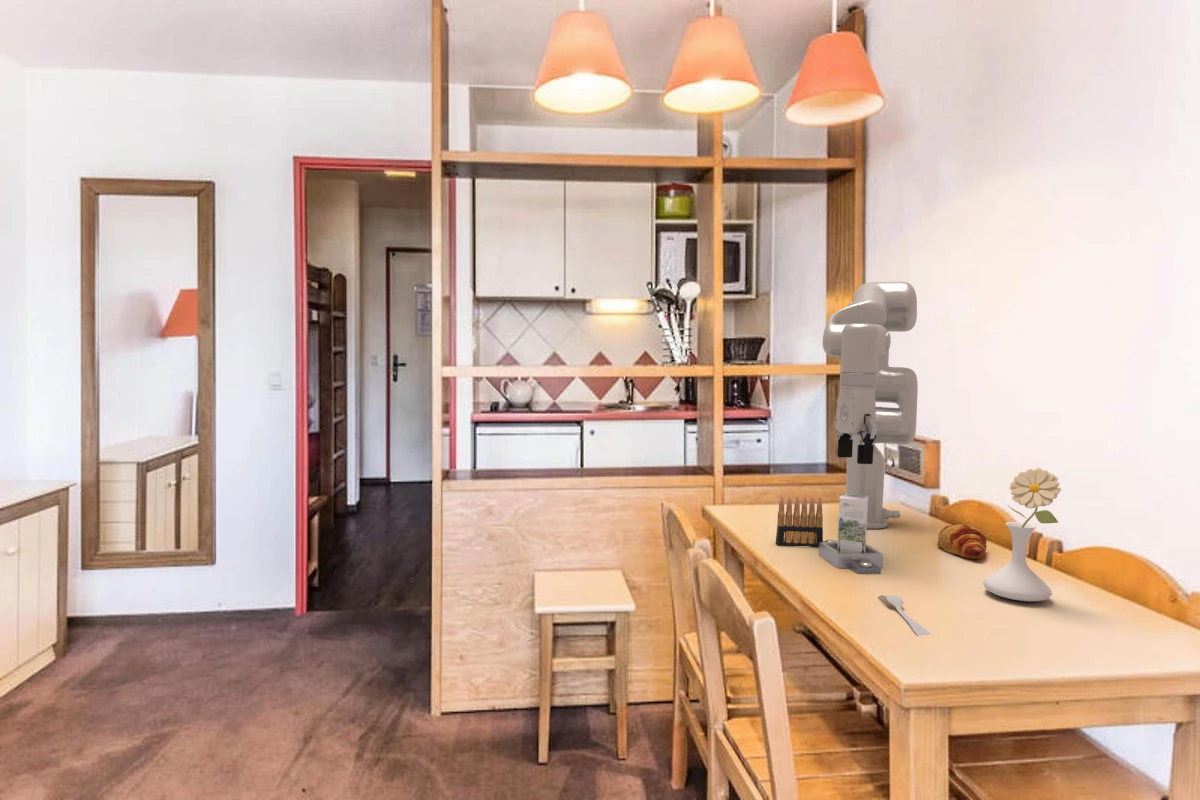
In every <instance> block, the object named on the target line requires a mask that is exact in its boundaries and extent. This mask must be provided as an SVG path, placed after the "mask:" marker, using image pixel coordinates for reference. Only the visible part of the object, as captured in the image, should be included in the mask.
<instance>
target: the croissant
mask: <svg viewBox="0 0 1200 800" xmlns="http://www.w3.org/2000/svg"><path fill="white" fill-rule="evenodd" d="M937 537H938V538H937V547H938V548H941V549H942V550H944V552H946V551H947V553H948V554H953V555H958V556H959V555H960V556H959V557H962V558H965V559H970V560H972V559H973V560H974V559H975V560H977V559H982V558H984V556H985V555H986V551H987V538H986V536H985V534H984V533H983V532H982V531H981V530H980V529H978V528H976V527H974V526H972V525H969V524H954V525H953V524H952V525H946V526H943V528H941V530H940V531H939V533H938V536H937ZM976 558H977V559H976Z"/></svg>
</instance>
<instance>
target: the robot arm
mask: <svg viewBox="0 0 1200 800" xmlns="http://www.w3.org/2000/svg"><path fill="white" fill-rule="evenodd" d="M917 319H918V297H917V291H916V290H915V288H914V286H913V285H912V284H911V283H909V282H907V281H870V282H865V283H863V284H861V285H860V286H859V287H857V289H856V291H855V292H854V295H853V299H852V301H851V302H850V303H848V304H847V306H846V307H844V308H841V309H839V310H837V311H836V312H833V313H832V314H831V315H830V316H829V318H828V319H827V321H826V324H825V327H824V331H823V335H822V348H823V351H824V352H825V354H827V356H829V357H831V358H840V369H839V391H838V396H837V402H836V413H835V424H834V425H835V427H834V428H835V429H836V431H837V457H838V458H847V459H846V478H845V494H850V495H862V496H868V513H867V529H870V530H871V529H872V530H873V529H874V530H877V529H885V528H888V526H889V521H888V520H889V518H890V519H900V517H901V513H900V511H899V510H890V509H887V508H885V507H883V506H884V488H885V485H884V484H885V468H886V462H885V457H884V455H883V453H882V452H881V451H880V449H879V448H878V447H877V446H876V444H887V445H888V444H892V445H908V444H911V443H912V442H913V441H914V439H915V437H916V433H917V414H918V391H919V389H918V377H917V373H916V372H915V371H914V369H911V368H909V367H903V366H902V367H901V366H890V365H889V359H890V358H889V357H890V347H891V341H892V339H891V333H890V332H892V333H893V332H898V333H899V332H900V333H901V332H909V331H911V330H913V329H914V327H915V326H916V322H917ZM876 403H891V404H892V403H893V404H896V405H897V406H898V407H886V406H885V407H883V406H876ZM837 518H838V521H837V522H839V517H837Z"/></svg>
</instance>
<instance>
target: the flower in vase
mask: <svg viewBox="0 0 1200 800" xmlns="http://www.w3.org/2000/svg"><path fill="white" fill-rule="evenodd" d="M1058 480H1059V477H1058V476H1055V474H1054V473H1051V472H1049V471H1048V470H1047V469H1042V468H1040V467H1038V468H1036V469H1032V468H1028V469H1027V470H1025V471H1019V473H1018V474H1017V476H1014V477H1013V481H1011V483H1010V486H1009V490H1010V494H1011V496H1012V497H1011V499H1012V501H1014V502H1015V503H1018V504H1019V505H1021V506H1024V507H1025V508H1028V509H1034V511H1033V512H1032V514H1031V515H1030V516H1029V517H1028V518H1027V517H1026V516H1025V515H1024V514H1022V513H1021V512H1020V511H1018V510H1016V509H1014V508H1012V507H1011V506H1010V505H1009V504H1007V506H1008V507H1009V509H1011V510H1012V511H1013V512H1016V513H1017V514H1019V515H1020V516H1022V517H1023V518H1025V519H1026V520H1025V521H1024V522H1021V521H1008V522H1005V525H1006V526H1007V528H1008V530H1009V532H1010V536H1011V543H1012V551H1011V558H1010V561H1009V562H1008V563H1007V564H1006V565H1005V566H1003V567H1001V568H1000V569H998V570H996V571H994V572H992V573H991V574H989V575H988V576H987V577H985V578H984V580H983V582H982V584H983V586H984V588H985V589H986V590H987V591H988V592H990V593H992V594H994V595H996V596H997V597H1002V598H1005V599H1009V600H1013V601H1019V602H1020V601H1021V602H1040V601H1047V600H1049V599H1050V598H1051V597H1052V595H1053V593H1052V590H1051V588H1050V586H1049V585H1048V584H1047V583H1046V582H1045V581H1044V580H1043V579H1042V578H1041V577H1040V576H1039V575H1037V574H1036V573H1035V571H1033V570H1032V569H1031V568H1030V566H1029V565H1028V563H1027V559H1026V557H1027V554H1026V553H1027V546H1028V541H1029V538H1030V536H1031V535H1032V534H1033V531H1034V530H1035V529H1036V528H1037V526H1036V525H1034V524H1031V523H1028V522H1029V521H1030V520H1031V519H1032V518H1033V517H1034V516H1035V518H1036V520H1037V521H1038V522H1039V523H1040V524H1058V523H1059V520H1058V519H1057V518H1056V517H1055V515H1054V514H1053V513H1052V512H1051V511H1050V510H1048V509H1044V510H1039V511H1038V508H1039V507H1043V508H1044V507H1046V506H1050V505H1051V504H1052V503H1053V502H1054V500H1055V499H1057V497H1058V495H1059V494H1060V492H1061V491H1062V488H1061V487H1059V486H1060V482H1059V481H1058Z"/></svg>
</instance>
